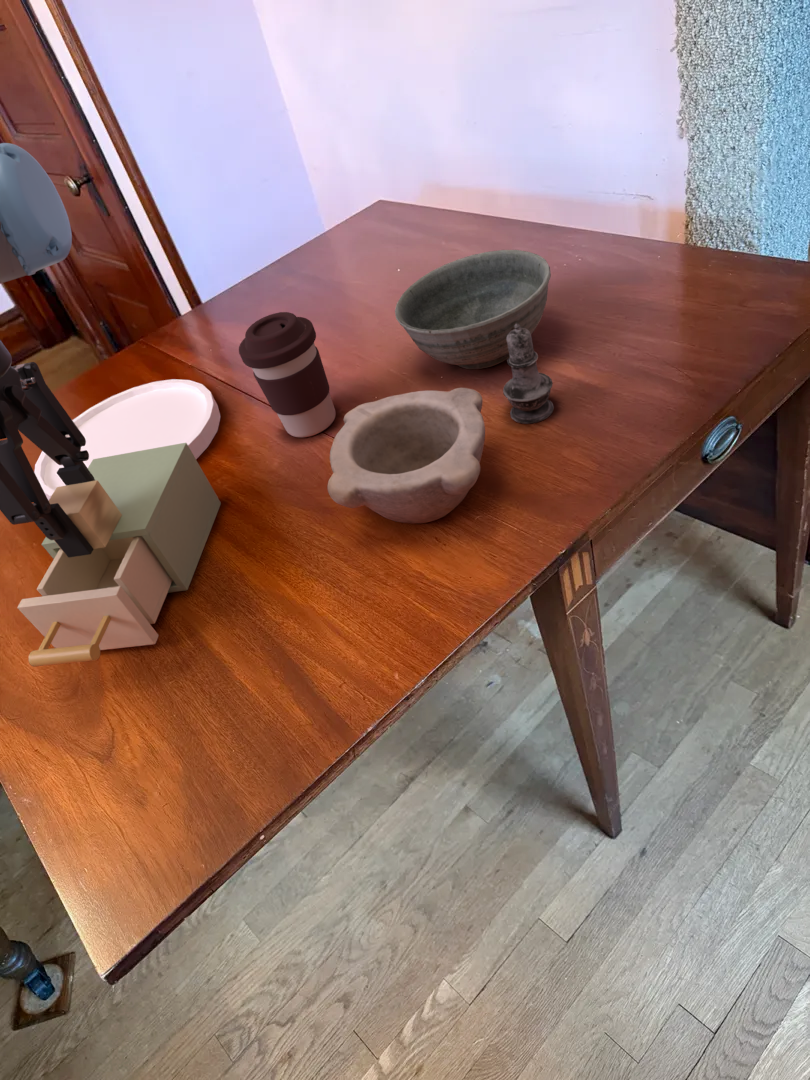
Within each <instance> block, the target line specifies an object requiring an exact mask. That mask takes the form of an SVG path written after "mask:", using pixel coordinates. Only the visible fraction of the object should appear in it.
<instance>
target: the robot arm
mask: <svg viewBox="0 0 810 1080" xmlns="http://www.w3.org/2000/svg"><path fill="white" fill-rule="evenodd" d="M69 219H70V218H69V216H68V212H67V210H66V207H65V204H64V203H63V200H62V198H61V196H60V194H59V192H58V190H57V188H56V186H55V184H54V183H53V180H52V179H51V177H50V176H49V175H48V173H47V172H46V170H45V169H44V168H43V166H42V165H41V164H40V162H38V160H37V159H36V158H35V157H34V156H33V155H32V154H30V153H29V152H28V151H27V150H26V149H25V148H23V147H20V146H19V145H17V144H14V143H10V142H1V143H0V284H4V283H7V282H10V281H14V280H16V279H20V278H23V277H25V276H28V277H29V276H32V275H35V274H36V272H38V271H41V270H44V269H46V268H48V267H51V266H54V265H56V264H58V263H61V262H63V261H64V260H65V259H67V257H68V256H69V254H70V251H71V249H72V244H73V235H72V228H71V223H70V220H69ZM12 363H13V358H12V355H11V353H10V352H9V350H8V348H7V347H6V346H5V345H4V343H3V342H2V340H1V339H0V512H1V514H3V516H4V517H5V518H6V520H7V521H8V522H9V523H10V524H11V525H22V524H29V523H34V524H35V525H36V527H38V529H39V530H40V531H41V532H42V534H44V536H45V538H46V537H47V538H48V539H50V540H54V541H55V542H56V543H57V544H58V545H59V547H60V548H61V549H62V550H63V551H64V553H65V554H66V555H67V556H68V558H69V557H76V556H82V555H89V554H91V553H92V551H93V548H92V546H91V545H90V544H89V542H88V541H87V540H86V539H85V537H84V536H83V535H82V533H81V532H80V531H79V530H78V528H77V527H76V526H75V524H74V523H73V522H72V521H71V519H70V518H69V517H68V515H67V514H66V513H65V512H64V510H63V509H62V508H61V506H60V505H59V504H58V503H55V504H50V503H49V501H48V499H47V497H46V495H45V493H44V491H43V489H42V487H41V485H40V483H39V481H38V479H37V477H36V475H35V473H34V471H35V470H34V469H33V466H32V465H31V463H30V461H29V459H28V457H27V454H26V452H25V451H24V449H23V446H22V445H23V443H24V439H23V437H22V435H23V436H24V437H26V438H27V439H28V440H29V441H30V442H31V443H32V444H34V445H35V446H36V447H37V448H38V449H39V450H41V452H42V451H43V452H44V453H45V454H47V455H48V456H49V457H50V458H51V459H52V460H53V461H55V462H56V463H57V464H58V465H63V466H64V467H63V468H59V470H58V471H57V474H58V476H59V477H60V478H61V480H62V481H63V482H64V484H65V485H66V486H67V485H73V484H78V483H84V482H90V481H95V479H94V477H93V475H92V474H91V472H90V471H89V470H88V468H87V467H86V465H85V464H84V462H83V461H87V460H88V459H89V453H88V451H87V450H84V451H80V450H81V447H82V446H85V444H86V440H85V437H84V436H83V435H82V433H81V432H80V430H79V429H78V428H77V426H76V425H75V423H74V422H73V421H72V420H73V419H72V418H71V416H70V415H69V414H68V412H67V411H66V410H65V408H64V407H63V405H62V404H61V402H60V401H59V400H58V398H57V397H56V395H55V394H54V393H53V391H52V390H51V389H50V387H49V386H48V384H47V383H46V381H45V379H44V377H43V374H42V372H41V370H40V367H39V365H38V364H37V363H36V361H29V362H25V363H22V364H21V363H20V364H17V365H12ZM21 434H22V435H21ZM65 435H69V436H70V437H66V436H65Z"/></svg>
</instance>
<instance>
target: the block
mask: <svg viewBox="0 0 810 1080" xmlns="http://www.w3.org/2000/svg"><path fill="white" fill-rule="evenodd" d="M49 503H50V504H55V503H58V504H59V505H60V506H61V508H62V509H63V510H64V512H65V513H66V514H67V515H68V517H69V518H70V519H71V521H72V522H73V523H74V524H75V526H76V527H77V528H78V530H79V531H80V532H81V533H82V535H83V536H84V537H85V539H86V540H87V541H88V542H89V544H90V545H91V546H92V548H93V549H97V548H104V547H106V545H107V543H108V541H109V539H110V537H111V535H112V533H113V531H114V529H115V528H116V526H117V524H118V522H119V520H120V518H121V516H122V514H121V513H120V511H119V510H118V508H117V507H116V505H115V504H114V503H113V501H112V500H111V498H110V497H109V496H108V494H107V493H106V491H105V490H104V488H103V487H102V486H101V484H100V483H99V481H98V480H96V481H90V482H84V483H78V484H73V485H67V486H61V487H57V488H56V490H55V491H54V493H53V494H52V496H51V497H50V499H49ZM56 544H57V543H56ZM57 545H58V544H57ZM58 546H59V545H58ZM61 550H62V549H61ZM62 551H63V550H62ZM63 552H64V551H63Z"/></svg>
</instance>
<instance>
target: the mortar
mask: <svg viewBox="0 0 810 1080" xmlns="http://www.w3.org/2000/svg"><path fill="white" fill-rule="evenodd" d="M483 404H484V403H483V396H482V394H481V393H480V392H479V391H477V390H476V389H473V388H468V387H457V388H454V389H451V390H448V391H445V390H431V389H430V390H427V389H426V390H418V391H411V392H406V393H400V394H395V395H390V396H387V397H383V398H380V399H377V400H374V401H370V402H369V401H368V402H364V403H362V404H359V405H356V407H354V408H352V409H350V410H349V411H348V412H346V413H345V414H344V417H343V423H344V424H343V426H342V427H341V428H340V430H339V431H338V432H337V433H336V434H335V436H334V439H333V441H332V444H331V447H330V452H329V462H330V468H331V472H332V474H331V476H330V477H329V479H328V481H327V487H326V489H327V493H328V495H329V497H330V499H332V501H333V502H335V503H336V504H338V505H340V506H342V507H345V508H349V509H356V508H360V507H363V506H365V507H366V508H368V509H370V510H371V511H373V512H375V513H376V514H378V515H379V516H381V517H383V518H385V519H388V520H391V521H393V522H397V523H402V524H426V523H430V522H434V521H437V520H439V519H442V518H443V517H445V516H447V515H449V514H450V513H451V512H452V511H453V510H454V509H455V508H457V507H458V506H459V505H460V504H461V503H462V502H463V501H464V499H465V498H466V496H467V495H468V493H469V491H470V490H471V488H473V487H474V486H475V484H476V482H477V480H478V478H479V475H480V473H481V464H480V463H481V460H482V457H483V451H484V447H485V440H486V439H485V438H486V426H485V421H484V417H483V414H482V408H483Z"/></svg>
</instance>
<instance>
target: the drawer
mask: <svg viewBox="0 0 810 1080" xmlns="http://www.w3.org/2000/svg"><path fill="white" fill-rule="evenodd" d="M172 581H173V580H172V578H171V577H170V575H169V574H168V572H167V571H166V570H165V568H164V567H163V565H162V564H161V562H160V561H159V560H158V558H157V557H156V555H155V554H154V552H153V551H152V550H151V548H150V547H149V545H148V544H147V542H146V541H145V540H144V538H143V537H142V536H136V537H130V538H123V539H116V540H110V541H108V543H107V545H106V547H104V548H97V549H93V551H92V553H91V554H89V555H82V556H76V557H69V558H68V556H67V555H66V554H65V553H64V552H63V551H62V550H61V548H60V549H59V551H58V553H57V555H56V556H55V558H54V559H53V560H52V562H51V563H50V565H49V566H48V569H47V570H46V572H45V573H44V575H43V578H41V581H40V582H39V584H38V586H37V588H36V591H37V592H38V593H39V595H41V596H34V597H28V598H22V599H21V600H20V601H19V603H18V605H17V609H18V611H19V612H20V613H22V615H23V617H25V618H26V620H28V621H29V622H30V623H31V624H32V625H33V626H34V628H35V629H36V630H37V631H38V632H39V633H40V634H41V635H42V636H43V637H44V638H43V640H42V642H41V644H40V646H39V647H38V649H35V650H34V649H33V650H32V651H30V652H29V654H28V658H27V659H28V663H29V665H30V666H31V667H33V668H35V667H46V666H56V665H64V664H65V665H66V664H74V663H85V662H93V661H97V660H99V659H100V656H101V651H105V650H114V649H123V648H132V647H141V646H142V647H143V646H151V645H156V643H157V641H158V639H159V633H158V632H157V631H156V630H155V629H154V627H153V626H152V625H153V624H156V622H157V620H158V617H159V615H160V612H161V610H162V607H163V605H164V602H165V600H166V598H167V595H168V594H169V593H168V590H169V588H170V585H171V583H172ZM51 645H52V647H53V648H50V646H51Z"/></svg>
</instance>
